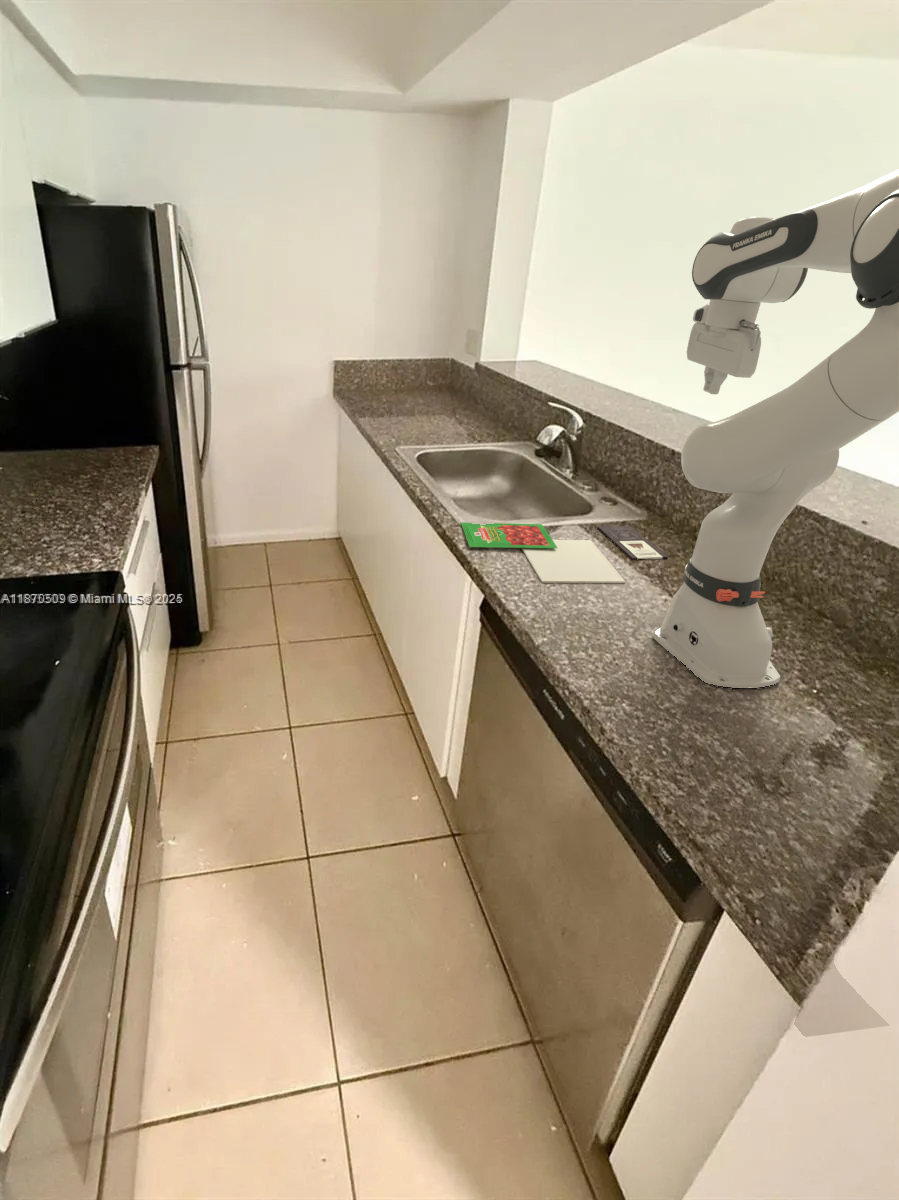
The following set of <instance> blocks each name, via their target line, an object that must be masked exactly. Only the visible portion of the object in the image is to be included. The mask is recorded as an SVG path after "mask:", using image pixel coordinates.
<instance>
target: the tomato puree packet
mask: <svg viewBox="0 0 899 1200" xmlns="http://www.w3.org/2000/svg"><path fill="white" fill-rule="evenodd" d="M472 523H473V522H460V524H461V527H462V529H463V532H464V535H465V539H466V541H467V544H468V546H469V548H510V549H511V548H515V549H520V548H557V546H556V545H555V543H554V542H553V540H554V539H552V537H551V536H550V534H549V532H548V531H547V530H546V528H545V527H544V525H543V524H542V523H511V522H510V523H509V522H508V523H506V522H503V523H500V522H495V523H494V522H493V523H494V524H486V525H480V524H472Z"/></svg>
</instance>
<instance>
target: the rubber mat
mask: <svg viewBox="0 0 899 1200" xmlns="http://www.w3.org/2000/svg"><path fill="white" fill-rule="evenodd" d="M552 540H553V542H554V543H555V545H556V546H557V548H521V550H522V552H523V554H524V556H525V557H526V559H527V560H528V562H529V564H530V566H531V567H532V569H533V571H534V572H535V575H536V576H537V577H538V579H539V581H540V582H541V584H625V583H626V581H625V579H624V578H623V577H622V576H621V574H620V573H619V572H618V571H617V570H616V568H615V567H614V566H613V565H612V564H611V562H609V560H608V559H607V558H606V557H605V555H604V554H603V553H602V551H601V550H600V549H599V548H598V547H597V546H596V544H595V543H594V542H593V541H592V540H591V539H589V540H588V539H587V540H586V539H552Z"/></svg>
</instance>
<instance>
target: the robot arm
mask: <svg viewBox="0 0 899 1200" xmlns="http://www.w3.org/2000/svg"><path fill="white" fill-rule="evenodd" d="M809 269H810V270H811V269H812V270H816V271H817V270H819V271H825V272H834V273H840V274H841V273H842V274H851V278H852V280H853V282H854V284H855V286H856V288H857V290H856V295H855V299H856V301H857V303H858V304H859V305H860V306H861V307H863V308H865V309H868V310H869V309H870V310H871V309H875V310H874V312H873V314H872V317H871V318H870V320H869V322H868V323H867V324H866V326H865V327H864V328H863V329H862V330H860V331H859V332H858V333H857V334H856V335H854V336H853V337H852V338H849V340H847V341H846V342H845V343H844V344H842V345H841V346H840V347H839V348H838V349H836V350H835V351H833V352H832V353H831V354H830V355H828V356H827V357H826V358H825V359H823V360H822V361H821V362H819V363H818V364H817V365H816V366H815V367H814V368H812V369H811V370H810V371H808V372H807V373H805V374H804V375H802V377H801V378H799V379H798V380H796V381H795V382H794V383H792V384H790V385H789V386H788V387H786V388H784V389H782V390H780V391H779V392H777V393H774V394H773V395H771V396H769V397H767V398H764V399H762V400H761V401H759V402H757V403H754V404H753V405H751V406H749V407H747V408H744V409H743V410H740V411H739V412H737V413H735V414H732V415H730V416H728V417H725V418H722V419H720V420H718V421H714V422H711V423H707V424H703V425H700V426H698V427H696V428H695V429H694V430H693V431H692V432H691V433H690V434H689V436H688V437H687V439H686V441H685V443H684V444H683V448H682V450H681V451H682V452H681V457H680V460H681V468H682V469H681V470H682V472H683V475H684V476H685V478H686V480H687V481H688V483H689V484H690V485H691V486H692V487H695V488H697V489H700V490H704V491H709V492H714V493H719V494H731V495H730V496H729V497H728V498H727V500H725V501H724V502H723V503H722V504H720V505H719V506H717V507H716V508H714V509H713V510H711V511H710V512H709V513H708V514H706V516H705V517H704V519H703V520H702V522H701V525H700V528H699V530H698V535H697V538H696V542H695V546H694V549H693V551H692V556H691V557H690V558H689V559H688V561H687V563H686V564H685V568H684V573H683V577H682V578H683V583H682V585H681V586H680V588H678V590H677V591H676V593H675V594H674V595H673V596H672V599H671V600H670V603H669V605H668V607H667V610H666V613H665V615H664V619H663V621H662V623H661V626H660V627H658V628H657V629H656V630H655V631H654V633H653V635H652V638H653V639H654V640H655V641H656V642H657V643H658V644H659V645H661V647H663V648H664V649H665V650H666V651H667V652H668V651H669V652H668V653H670V654H671V655H672V656H673V657H674V656H675V657H676V658H677V660H678V662H680V661H681V662H682V663H683V664H684V665H686V667H685V668H686V669H688V668H689V669H688V670H689V671H690V670H691V671H692V672H693V673H694V674H693V673H692V672H691V671H690V672H691V673H692V674H693V675H695V677H697V678H698V677H699V678H700V679H701V680H702V681H701V680H700V679H699V678H698V679H699V680H700V681H701V682H703V681H704V682H706V683H708V685H710V684H713V685H718V686H723V687H724V686H725V687H732V688H739V687H740V688H744V687H745V688H748V687H765V686H769V687H771V686H770V685H773V686H775V685H777V684H778V683H779V682H780V681H781V675H780V674H779V672H778V670H777V669H776V668H775V667H776V666H774V665H773V663H772V662H771V660H770V659H771V656H772V650H773V640H772V638H773V633H774V632H773V629H772V628H771V627H769V626H767V625H766V623H765V619H764V616H763V614H762V611H761V609H760V606H759V603H758V602H759V601H760V598H764V596H762V595H765V594H766V591H765V590H764V591H763V590H762V591H761V585H762V584H761V575H760V573H761V571H762V568H763V565H764V562H765V560H766V558H767V554H768V552H769V549H770V547H771V545H772V542H773V540H774V538H775V536H776V534H777V532H778V530H779V529H780V527H781V526H782V524H783V523H784V521H785V520H786V519H787V517H789V515H790V513H791V512H792V511H793V510H794V509H795V508H796V506H797V505H798V504H799V503H800V502H801V501H802V500H803V499H804V498H805V497H806V496H807V495H808V494H809V493H811V491H813V490H815V489H816V488H818V487H819V486H822V485H823V483H825V482H827V481H828V480H829V479H830V478H831V477H832V475H833V474H834V472H835V471H836V468H837V467H838V464H839V459H840V449H841V448H843V447H846V446H847V445H848V444H849V443H852V442H853V441H854V440H856V439H857V438H859V437H861V436H862V435H864V434H865V433H867V432H868V431H870V430H872V429H873V428H875V427H877V426H878V425H881V423H883V422H885V421H887V420H888V419H890V418H891V417H893V416H894V415H896V414H897V413H899V169H897V170H895V171H892V172H890V173H889V174H886V175H884V176H882V177H880V178H878V179H875V180H874V181H872V182H870V183H868V184H866V185H864V186H861V187H858V188H856V189H854V190H852V191H849V192H847V193H844V194H842V195H840V196H838V197H835V198H832V199H829V200H827V201H824V202H821V203H818V204H816V205H812V206H809V207H807V208H805V209H801V210H799V211H796V212H793V213H789V214H787V215H783V216H780V217H777V218H773V217H768V216H749V217H744V218H741V219H739V220H737V221H736V222H735V223H734V224H733V226H732V228H731V229H730V231H729V232H723V231H720V232H718V233H716V234H715V235H713V236H712V237H711V238H709V239H708V240H706V242H705V243H704V244H703V245H702V246H701V247H700V249H699V250H698V251H697V253H696V255H695V258H694V261H693V263H692V268H691V278H692V282H693V285H694V286H695V288H696V290H697V292H698V294H700V296H701V297H702V299H704V300H709V303H707V304H705V305H704V306H702V307H700V308H697V309H695V310H694V313H693V316H692V321H693V322H694V323H693V325H692V328H691V330H690V334H689V338H688V342H687V348H686V357H687V360H688V361H691V362H694V363H696V364H699V365H701V366H705V368H704V372H703V373H704V385H703V389H702V390H703V392H706V393H708V394H711V395H718V394H719V392H720V389H721V386H722V385H723V384H724V382H725V381H726V379H727V378H728V375H729V376H732V377H735V378H746V379H747V378H748V379H749V378H751V377H752V376H753V375H754V374H755V372H756V370H757V366H758V361H759V357H760V352H761V347H762V338H761V330H760V328H759V327H760V326H759V324H758V322H756V320H757V317H758V314H759V311H760V306H761V304H762V303H764V304H765V303H766V304H776V303H784V302H786V301H788V300H790V299H791V298H792V297H793V296H795V295H796V294H797V293H798V292H799V290H800V289H801V288H802V286H803V284H804V282H805V281H806V277H807V273H808V270H809ZM675 657H674V658H675ZM676 658H675V659H676ZM681 662H680V663H681ZM682 663H681V664H682ZM683 664H682V665H683ZM684 665H683V666H684ZM704 682H703V683H704ZM706 683H705V684H706ZM776 683H777V684H776ZM774 684H775V685H774ZM713 685H712V686H713ZM718 686H717V687H718ZM723 687H722V688H723ZM732 688H731V689H732ZM765 688H766V687H765Z"/></svg>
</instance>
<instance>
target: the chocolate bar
mask: <svg viewBox="0 0 899 1200" xmlns="http://www.w3.org/2000/svg"><path fill="white" fill-rule="evenodd" d="M597 530H598V531H600V533H601V534H603V535H604V534H605V535H606V536H607V537H608V538H609V539H610V540H609V539H608V538H607V537H606V536H605V535H604V536H605V537H606V538H607V539H608V540H609V541H611V540H612V541H611V542H612V543H613V542H614V543H615V544H616V545H617V546H618V547H619V548H620V549H621V550H622V551H621V550H620V549H619V548H618V547H617V546H616V545H615V544H614V543H613V544H614V545H615V546H616V547H617V548H618V549H619V550H620V551H621V552H622V553H623V554H625V555H626V556H627V557H628V558H629V557H630V558H631V559H632V560H631V559H630V558H629V559H630V560H631V561H635V560H634V559H637V561H638V559H646V560H667V559H668V557H669V556H667V554H665V553H664V552H663V551H662V550H660V548H658V547H657V546H656V545H654V544H653V542H651V541H650V540H649V539H647V538H646V537H645V536H644V535H642V533H640V532H639V531H637V530H636V529H635V528H634V527H633V526H632V525H614V526H613V525H610V526H608V525H607V526H606V525H605V526H597Z"/></svg>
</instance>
